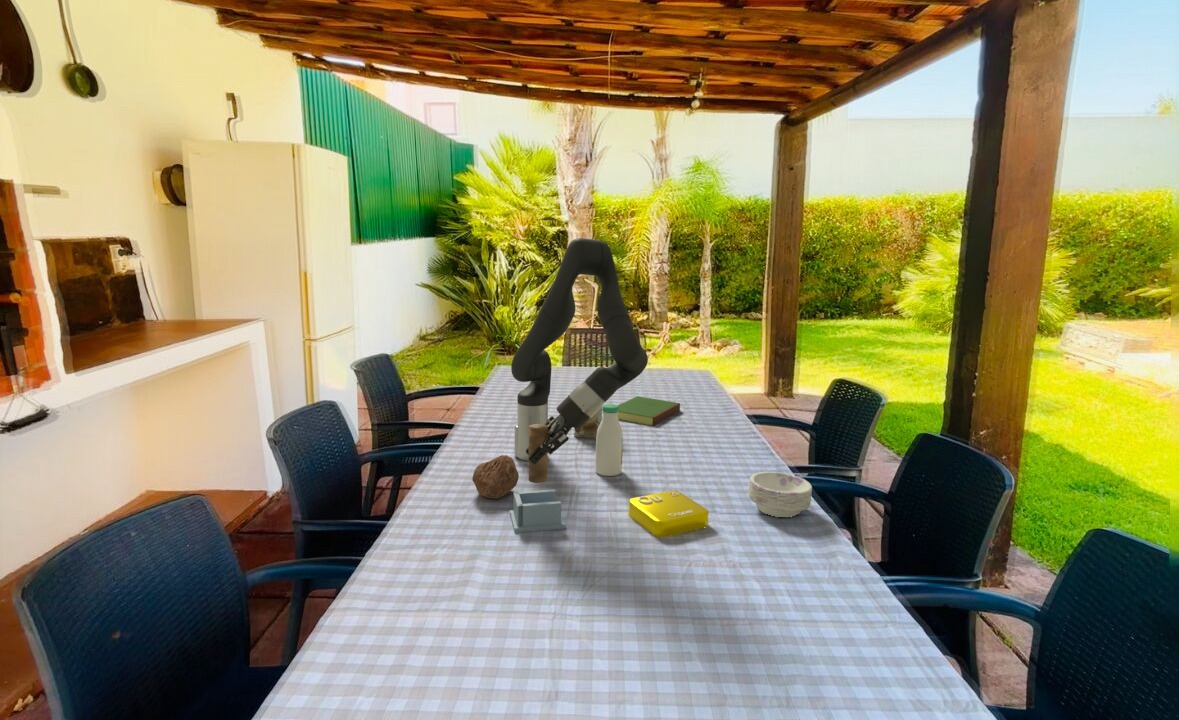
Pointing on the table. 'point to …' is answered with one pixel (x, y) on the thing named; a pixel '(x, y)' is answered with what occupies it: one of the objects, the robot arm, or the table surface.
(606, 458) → the milk bottle
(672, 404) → the hardcover book
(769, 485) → the paper bowls
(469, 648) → the table surface
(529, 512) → the slate bracket
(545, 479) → the walnut peg
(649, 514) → the element tile
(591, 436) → the coffee box
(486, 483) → the decorative rock
